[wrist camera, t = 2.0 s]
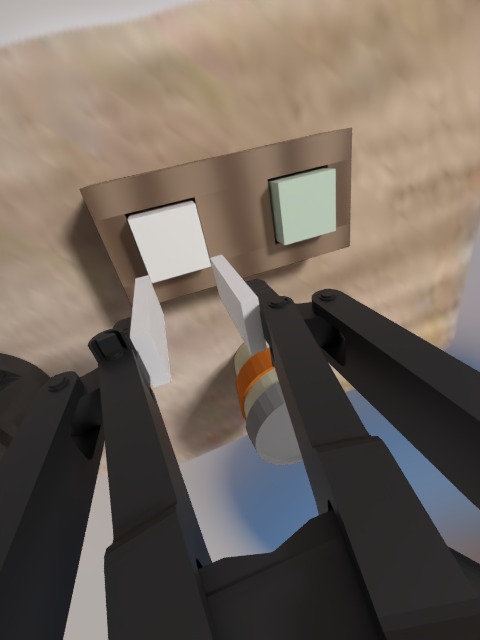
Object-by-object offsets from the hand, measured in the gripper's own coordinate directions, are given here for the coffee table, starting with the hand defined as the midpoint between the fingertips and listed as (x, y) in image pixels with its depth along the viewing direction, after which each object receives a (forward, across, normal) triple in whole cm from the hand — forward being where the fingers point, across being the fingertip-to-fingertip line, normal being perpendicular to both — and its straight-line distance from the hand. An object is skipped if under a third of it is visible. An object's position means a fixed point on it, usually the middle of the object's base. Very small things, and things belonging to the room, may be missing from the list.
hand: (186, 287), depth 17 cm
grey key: (+16, 0, 0) cm, 16 cm away
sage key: (+16, -14, 0) cm, 21 cm away
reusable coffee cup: (+19, -8, +23) cm, 31 cm away
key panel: (+19, -7, 0) cm, 20 cm away
